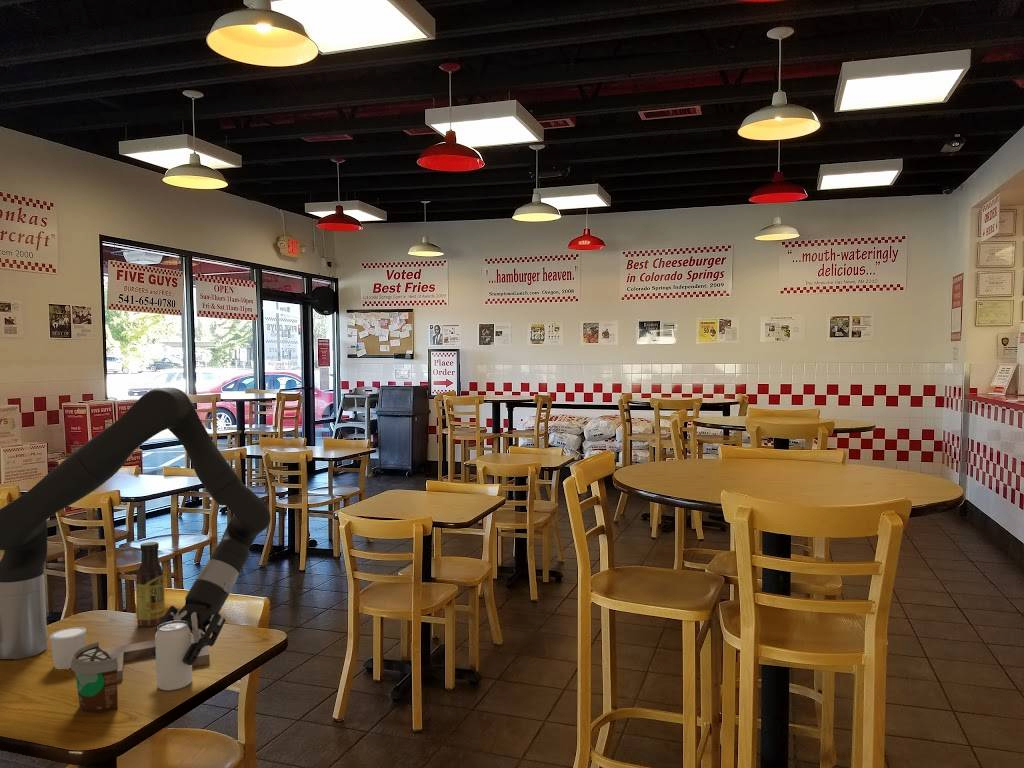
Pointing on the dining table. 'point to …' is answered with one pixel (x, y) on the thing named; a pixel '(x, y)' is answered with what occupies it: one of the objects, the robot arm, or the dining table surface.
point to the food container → (95, 679)
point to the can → (172, 655)
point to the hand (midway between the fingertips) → (170, 660)
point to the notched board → (146, 654)
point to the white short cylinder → (66, 645)
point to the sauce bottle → (150, 587)
